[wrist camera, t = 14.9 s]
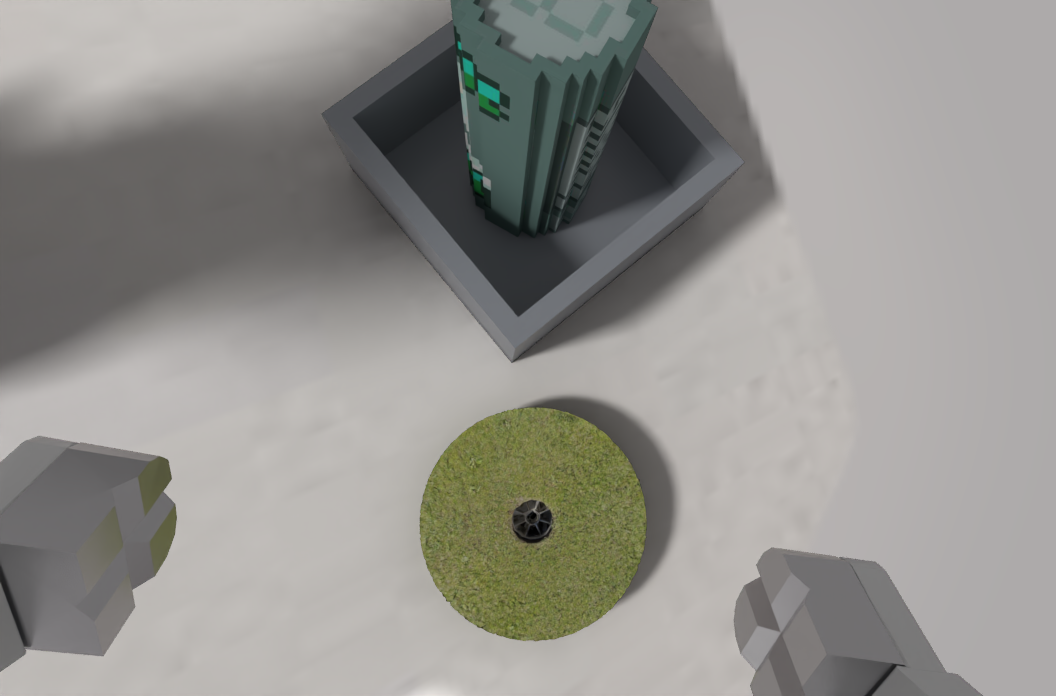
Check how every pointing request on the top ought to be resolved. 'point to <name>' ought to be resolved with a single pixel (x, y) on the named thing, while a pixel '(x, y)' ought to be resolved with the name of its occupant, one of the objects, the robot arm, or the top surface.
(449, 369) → the top surface
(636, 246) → the bin
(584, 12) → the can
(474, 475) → the mat
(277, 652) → the top surface
